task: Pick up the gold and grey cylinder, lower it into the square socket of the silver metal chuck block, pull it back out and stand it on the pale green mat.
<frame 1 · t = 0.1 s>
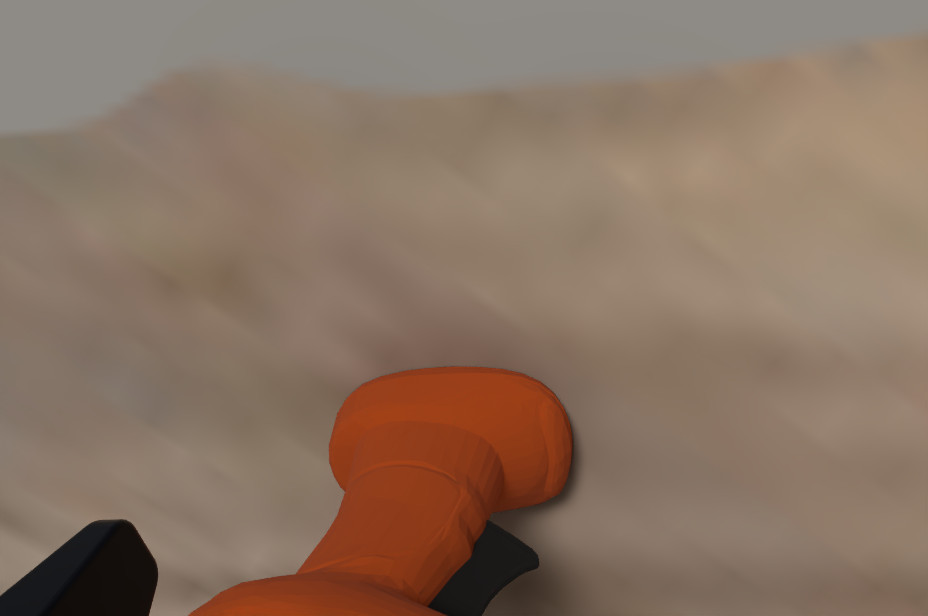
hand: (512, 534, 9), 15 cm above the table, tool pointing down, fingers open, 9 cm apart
toy drill: (593, 430, 26), on the table
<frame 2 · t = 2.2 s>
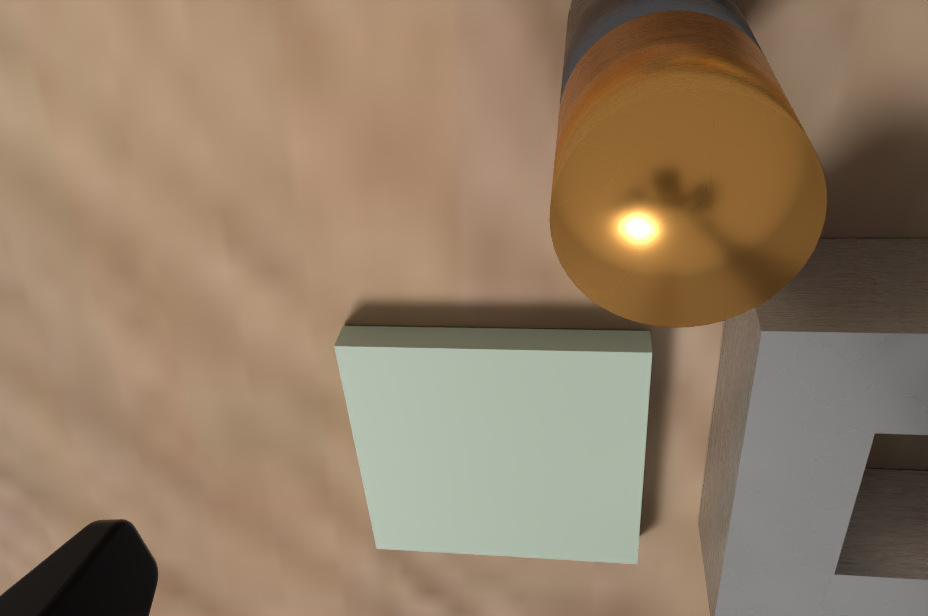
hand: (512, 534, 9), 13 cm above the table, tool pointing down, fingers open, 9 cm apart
gold and grey cylinder: (648, 25, 18), on the table
green mat: (499, 440, 26), on the table
chuck block: (913, 405, 23), on the table
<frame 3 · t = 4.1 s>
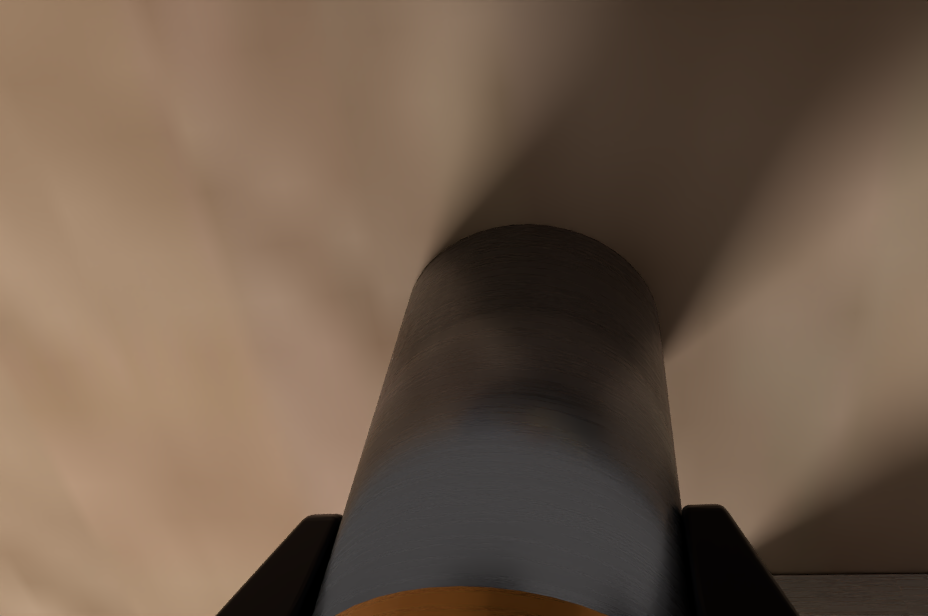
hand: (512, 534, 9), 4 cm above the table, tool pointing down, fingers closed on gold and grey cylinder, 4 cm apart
gold and grey cylinder: (530, 334, 12), on the table, touching gripper
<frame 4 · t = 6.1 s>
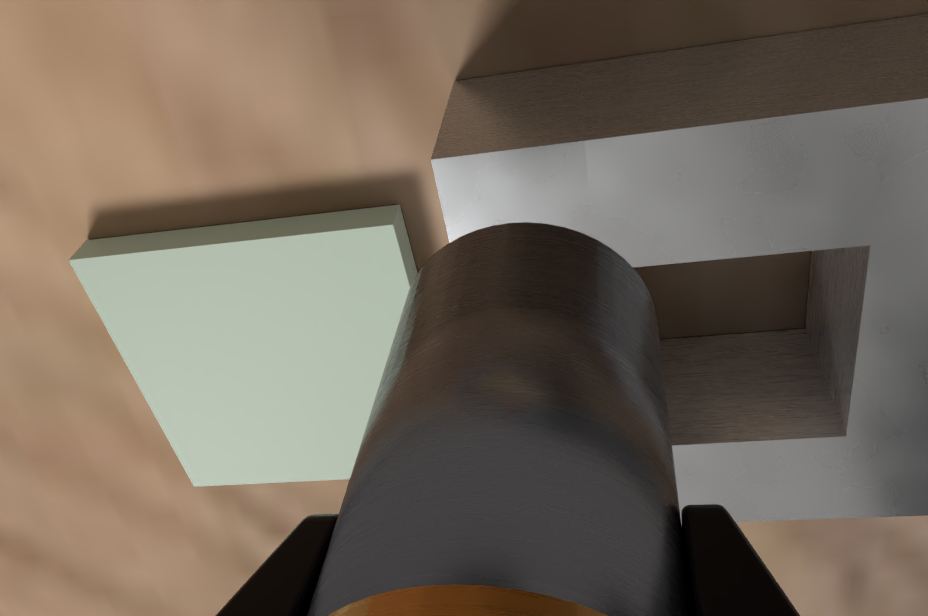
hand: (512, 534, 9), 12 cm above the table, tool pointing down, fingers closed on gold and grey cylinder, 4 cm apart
gold and grey cylinder: (528, 332, 12), point 9 cm above the table, touching gripper
green mat: (288, 352, 24), on the table
chuck block: (704, 257, 21), on the table
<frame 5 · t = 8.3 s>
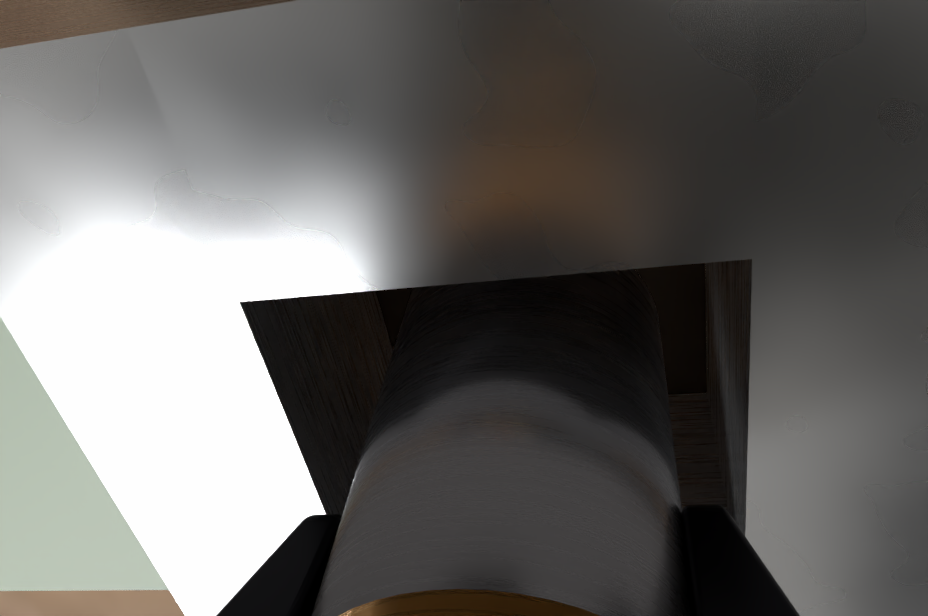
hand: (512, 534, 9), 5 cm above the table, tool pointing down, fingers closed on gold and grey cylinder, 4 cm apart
gold and grey cylinder: (530, 335, 12), point 1 cm above the table, touching gripper
chuck block: (533, 277, 13), on the table
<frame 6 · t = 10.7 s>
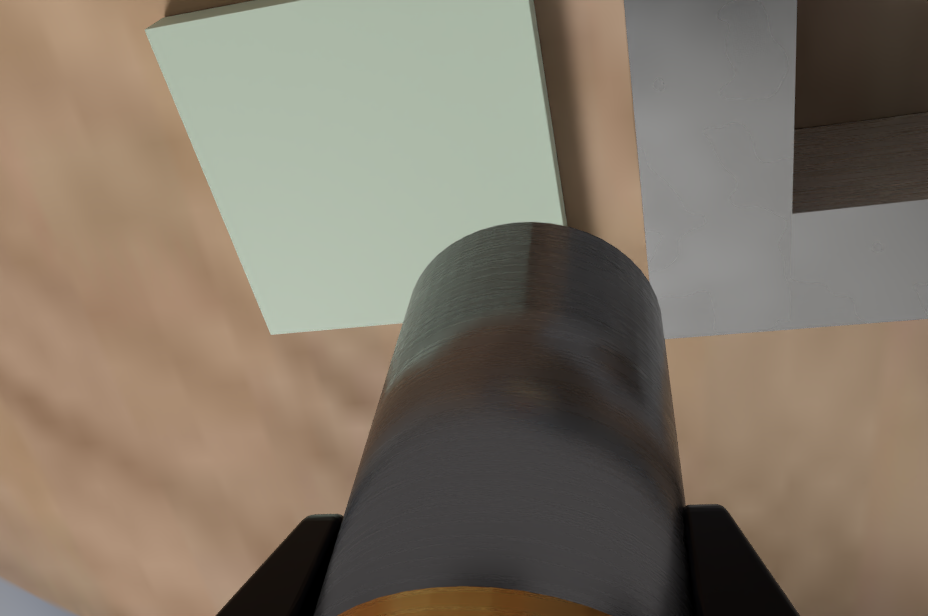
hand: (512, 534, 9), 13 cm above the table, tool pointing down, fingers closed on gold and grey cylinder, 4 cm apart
gold and grey cylinder: (532, 332, 12), point 10 cm above the table, touching gripper
green mat: (383, 161, 21), on the table
chuck block: (886, 5, 18), on the table
when the fingers open (5 cm above the table, at t = 12.7 s): gold and grey cylinder stays where it is, resting on green mat.
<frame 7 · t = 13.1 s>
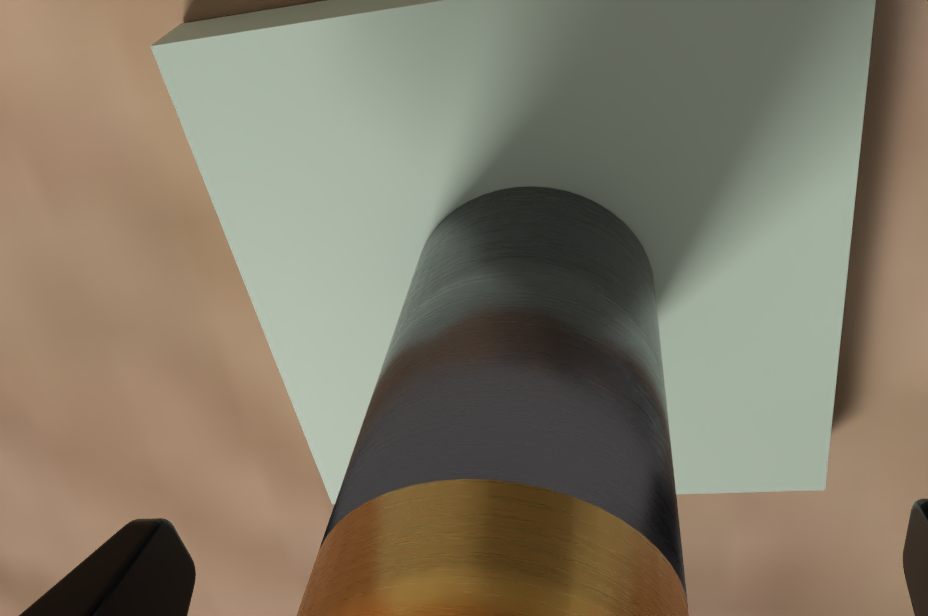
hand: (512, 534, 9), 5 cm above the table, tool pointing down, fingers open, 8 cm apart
gold and grey cylinder: (532, 293, 12), point 1 cm above the table, touching green mat
green mat: (534, 261, 13), on the table
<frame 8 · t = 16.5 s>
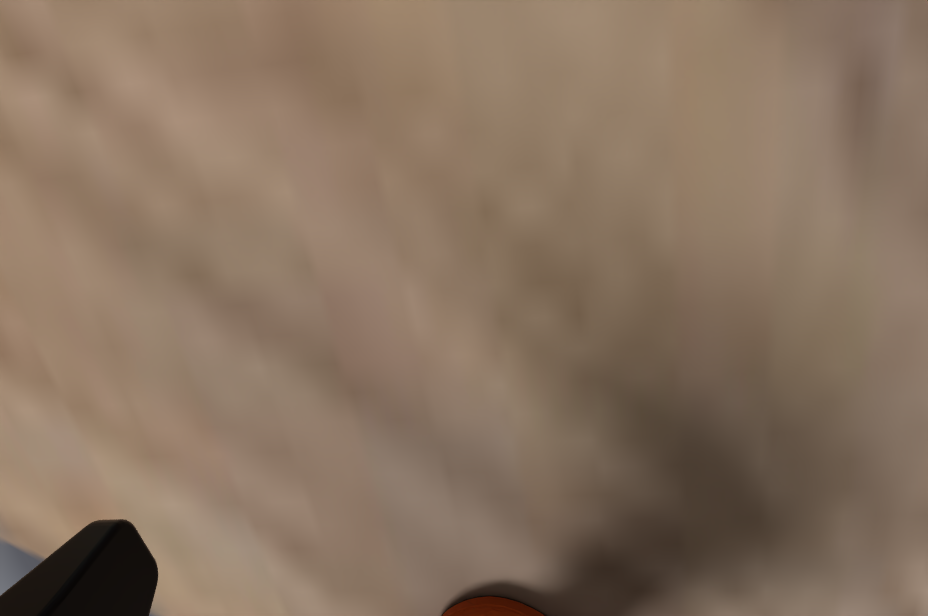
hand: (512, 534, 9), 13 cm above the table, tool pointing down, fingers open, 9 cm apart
toy drill: (441, 590, 32), on the table
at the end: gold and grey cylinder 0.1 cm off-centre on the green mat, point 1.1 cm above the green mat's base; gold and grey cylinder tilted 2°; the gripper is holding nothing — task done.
